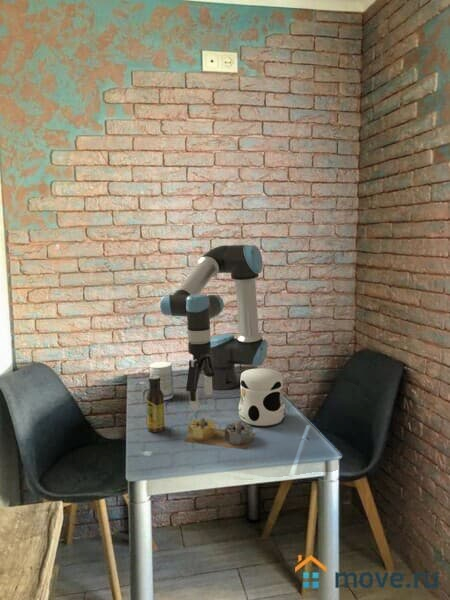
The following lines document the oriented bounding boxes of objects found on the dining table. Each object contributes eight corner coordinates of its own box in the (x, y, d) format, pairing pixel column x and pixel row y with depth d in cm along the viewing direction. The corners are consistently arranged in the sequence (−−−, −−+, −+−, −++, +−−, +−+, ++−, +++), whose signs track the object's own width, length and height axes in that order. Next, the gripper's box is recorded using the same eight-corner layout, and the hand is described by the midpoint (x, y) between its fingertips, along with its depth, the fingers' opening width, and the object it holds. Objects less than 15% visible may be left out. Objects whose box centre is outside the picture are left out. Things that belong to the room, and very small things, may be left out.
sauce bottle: (145, 427, 166) (143, 375, 163) (162, 424, 168) (160, 372, 166) (150, 434, 160) (147, 380, 157) (167, 431, 163) (164, 377, 160)
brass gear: (195, 428, 162) (194, 417, 161) (218, 431, 159) (217, 420, 159) (185, 439, 154) (185, 427, 153) (209, 442, 151) (209, 430, 151)
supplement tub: (177, 398, 195) (176, 364, 193) (157, 403, 190) (155, 369, 187) (167, 391, 203) (165, 359, 201) (147, 396, 198) (145, 363, 195)
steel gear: (230, 432, 158) (230, 421, 157) (254, 435, 155) (254, 424, 155) (222, 443, 150) (222, 432, 149) (247, 446, 147) (247, 435, 147)
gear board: (196, 429, 164) (196, 410, 163) (256, 436, 157) (255, 416, 156) (183, 444, 152) (182, 424, 151) (247, 452, 146) (246, 431, 145)
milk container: (231, 416, 174) (230, 370, 172) (272, 409, 181) (272, 365, 178) (250, 434, 158) (249, 384, 156) (294, 426, 165) (294, 378, 162)
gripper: (202, 331, 164) (204, 387, 168) (173, 350, 141) (176, 415, 145) (221, 332, 162) (223, 389, 166) (196, 352, 139) (198, 417, 142)
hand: (201, 401), depth 155 cm, fingers open, 13 cm apart
